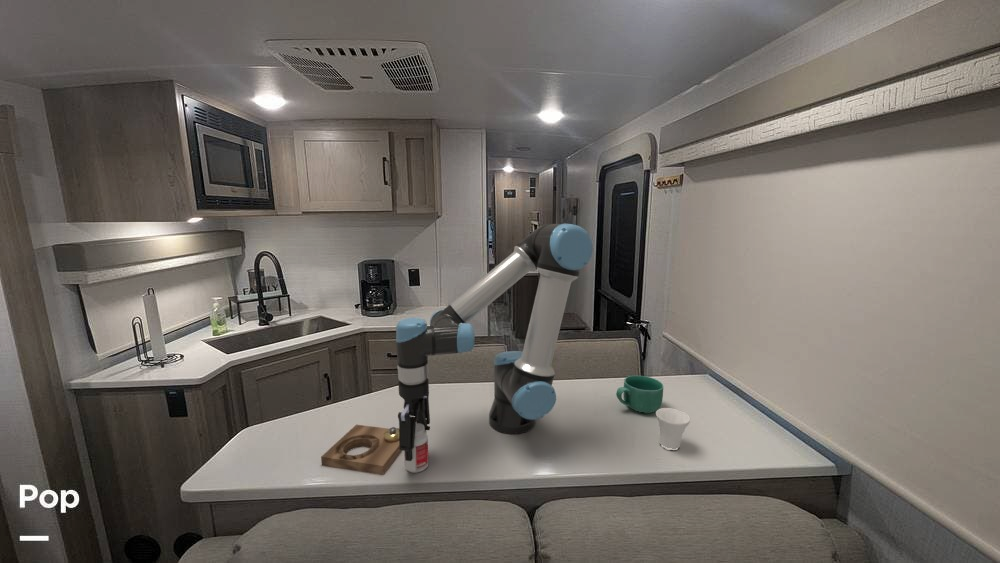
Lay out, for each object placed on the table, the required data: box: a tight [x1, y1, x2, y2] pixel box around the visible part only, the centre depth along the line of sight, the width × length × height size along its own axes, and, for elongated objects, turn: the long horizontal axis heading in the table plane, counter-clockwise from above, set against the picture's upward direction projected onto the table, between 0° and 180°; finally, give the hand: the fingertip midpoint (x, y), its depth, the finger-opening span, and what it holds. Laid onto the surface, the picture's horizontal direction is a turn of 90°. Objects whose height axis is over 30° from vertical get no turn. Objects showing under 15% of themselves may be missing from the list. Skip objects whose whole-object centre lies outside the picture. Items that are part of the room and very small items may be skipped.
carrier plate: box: [320, 424, 403, 475], centre depth 104 cm, size 18×16×2 cm
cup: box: [655, 407, 691, 449], centre depth 105 cm, size 9×9×10 cm
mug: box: [615, 375, 664, 414], centre depth 127 cm, size 17×13×10 cm
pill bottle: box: [403, 423, 430, 474], centre depth 97 cm, size 6×6×11 cm
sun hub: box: [384, 426, 399, 443], centre depth 106 cm, size 5×5×3 cm
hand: (416, 460), depth 97 cm, fingers closed on pill bottle, 6 cm apart
